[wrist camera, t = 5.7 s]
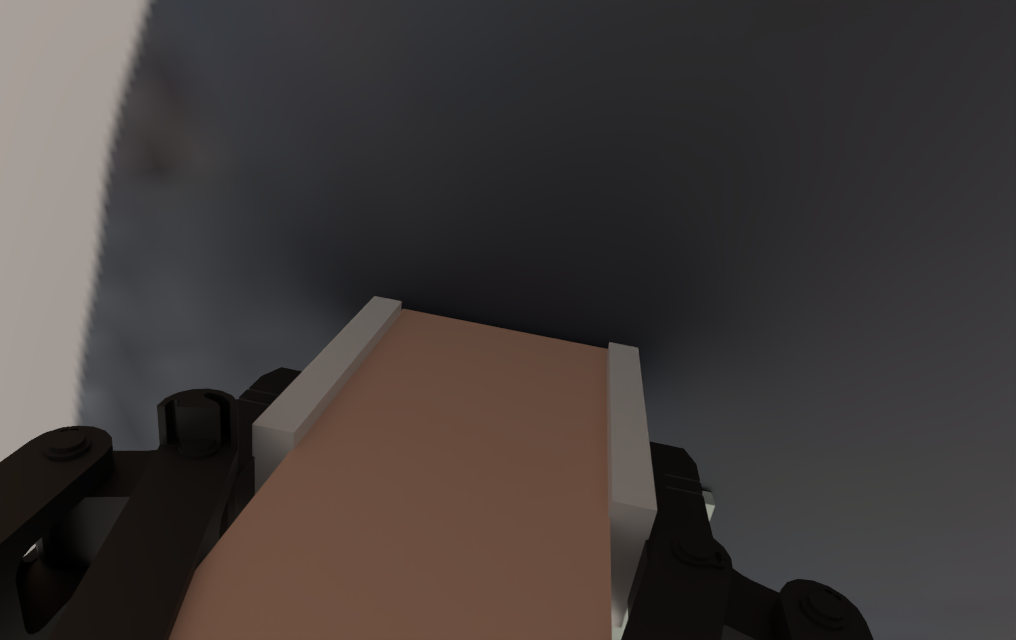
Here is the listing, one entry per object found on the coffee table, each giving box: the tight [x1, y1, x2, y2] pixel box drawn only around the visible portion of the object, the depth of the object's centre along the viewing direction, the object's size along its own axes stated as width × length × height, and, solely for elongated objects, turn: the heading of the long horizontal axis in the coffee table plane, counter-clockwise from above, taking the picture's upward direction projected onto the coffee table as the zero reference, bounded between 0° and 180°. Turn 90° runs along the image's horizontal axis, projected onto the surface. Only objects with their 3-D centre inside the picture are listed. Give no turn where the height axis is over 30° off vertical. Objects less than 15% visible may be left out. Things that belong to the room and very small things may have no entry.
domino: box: [169, 309, 612, 640], centre depth 13 cm, size 2×6×11 cm, turn 81°
